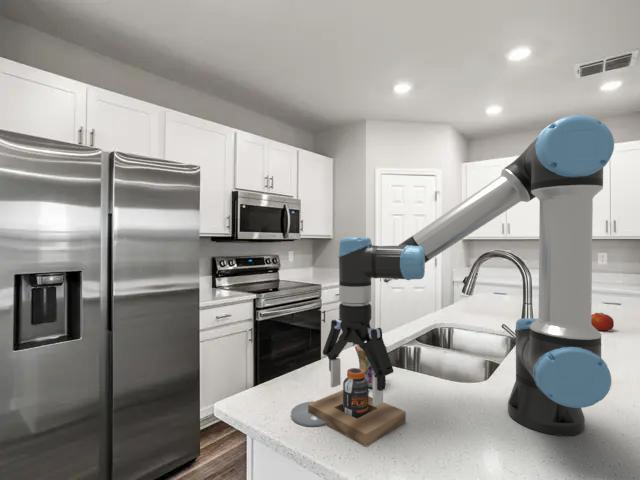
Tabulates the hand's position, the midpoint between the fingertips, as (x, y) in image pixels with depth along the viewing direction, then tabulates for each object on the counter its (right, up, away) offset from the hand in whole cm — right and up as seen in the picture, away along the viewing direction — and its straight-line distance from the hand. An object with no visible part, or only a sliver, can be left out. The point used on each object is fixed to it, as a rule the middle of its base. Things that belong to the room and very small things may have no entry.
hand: (355, 394), depth 84 cm
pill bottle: (0, -6, 0) cm, 6 cm away
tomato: (+119, -5, +79) cm, 143 cm away
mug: (+6, -6, +22) cm, 23 cm away
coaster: (-10, -6, +2) cm, 11 cm away
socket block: (0, -6, 0) cm, 6 cm away
